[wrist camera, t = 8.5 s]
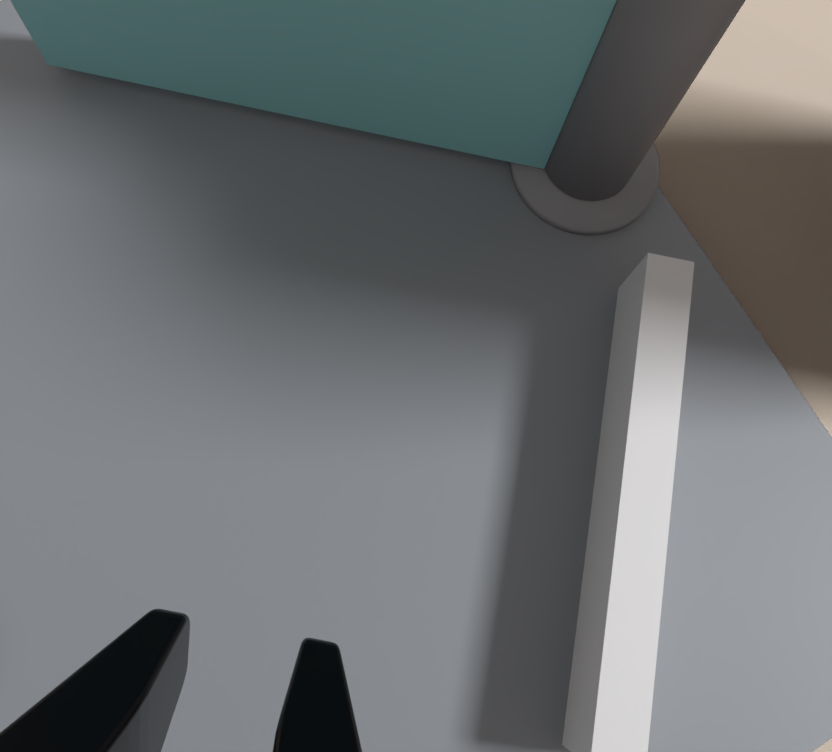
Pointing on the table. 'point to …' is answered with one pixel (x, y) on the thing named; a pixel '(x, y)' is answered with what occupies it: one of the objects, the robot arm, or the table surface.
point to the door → (418, 68)
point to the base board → (391, 436)
